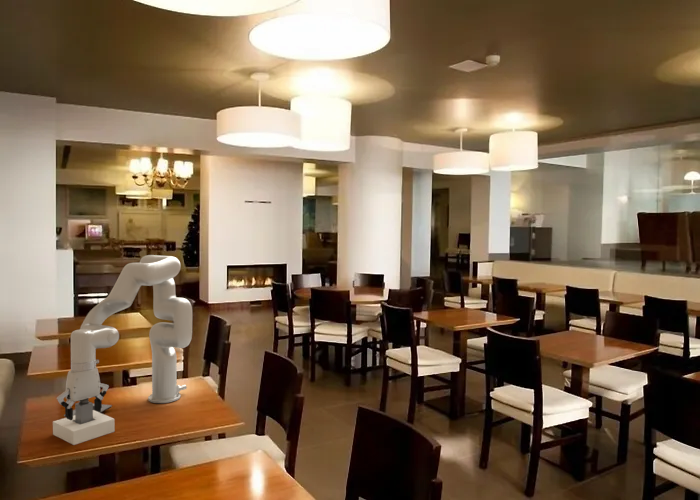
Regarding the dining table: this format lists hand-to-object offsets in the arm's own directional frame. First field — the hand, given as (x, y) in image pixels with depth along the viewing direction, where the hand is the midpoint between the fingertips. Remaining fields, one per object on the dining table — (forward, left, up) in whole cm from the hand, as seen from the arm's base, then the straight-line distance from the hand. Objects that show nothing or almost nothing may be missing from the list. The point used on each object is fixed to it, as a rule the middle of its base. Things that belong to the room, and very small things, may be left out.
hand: (83, 414), depth 178 cm
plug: (0, 0, -6) cm, 6 cm away
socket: (0, 0, -6) cm, 6 cm away
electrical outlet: (-10, -16, -7) cm, 20 cm away
